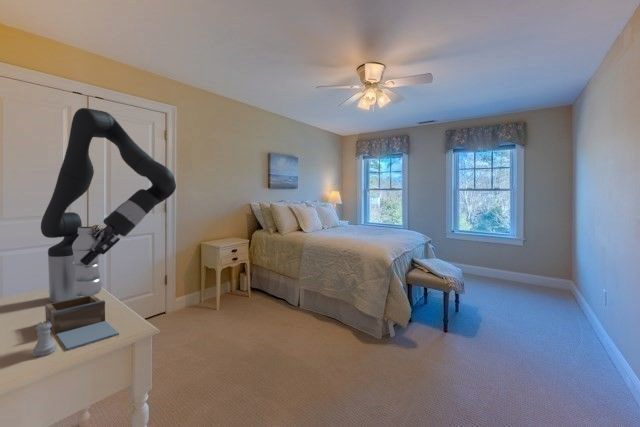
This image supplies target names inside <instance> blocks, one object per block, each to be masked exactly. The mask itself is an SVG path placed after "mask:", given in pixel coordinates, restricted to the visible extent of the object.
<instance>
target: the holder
mask: <svg viewBox="0 0 640 427" xmlns="http://www.w3.org/2000/svg"><path fill="white" fill-rule="evenodd" d="M44 306H45V307H44V308H45V321H46V323H47V321H50V323H51V324H52V326H51V328H50V330H51V332H52V333H53V335H54V336H57V334H58V333H62V332H66V331H69V330H73V329H77V328H81V327H84V326H88V325H92V324H96V323H99V322H103V321H106V301H105V300H104V299H103V300H100V298H98V297H97V296H95V295H91V296H80V297H79V298H74V299H69V300H64V301H59V302H50V303H45V305H44Z"/></svg>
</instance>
